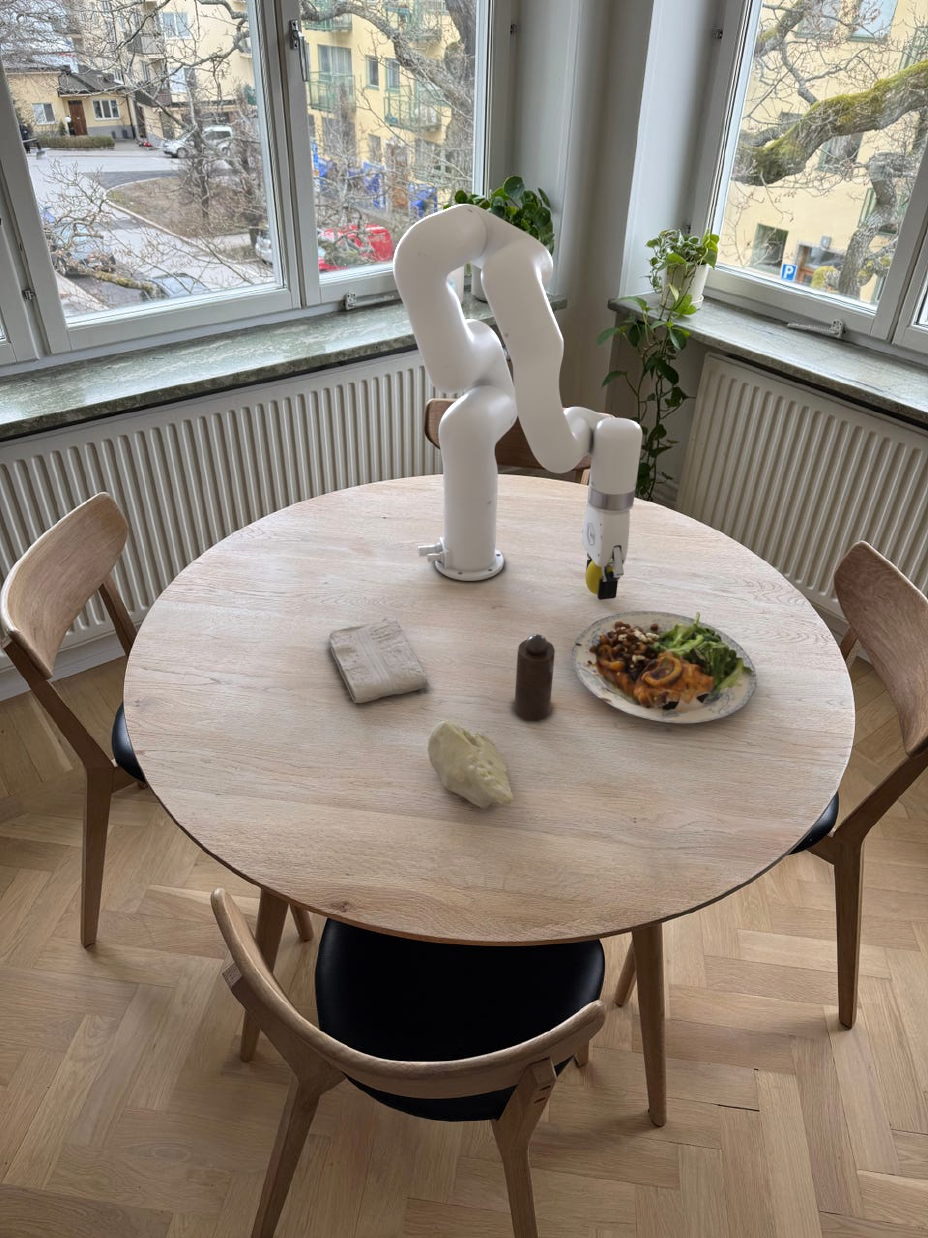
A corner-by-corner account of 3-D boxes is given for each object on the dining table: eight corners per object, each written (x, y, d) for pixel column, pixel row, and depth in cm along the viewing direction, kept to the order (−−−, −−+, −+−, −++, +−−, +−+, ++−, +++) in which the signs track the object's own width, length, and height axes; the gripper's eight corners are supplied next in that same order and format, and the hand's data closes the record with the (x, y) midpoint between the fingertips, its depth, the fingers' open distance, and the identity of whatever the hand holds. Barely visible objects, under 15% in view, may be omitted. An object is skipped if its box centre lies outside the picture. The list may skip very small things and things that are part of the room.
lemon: (614, 588, 160) (619, 549, 155) (615, 605, 155) (621, 565, 151) (583, 586, 160) (587, 547, 156) (583, 603, 156) (587, 563, 151)
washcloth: (394, 626, 149) (393, 611, 148) (431, 690, 136) (431, 674, 134) (324, 641, 146) (322, 626, 144) (355, 709, 132) (354, 693, 130)
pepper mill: (519, 723, 130) (524, 649, 122) (510, 700, 134) (514, 628, 127) (554, 718, 131) (560, 645, 123) (544, 695, 135) (549, 623, 128)
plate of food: (760, 642, 147) (768, 611, 143) (746, 753, 125) (755, 720, 122) (592, 609, 154) (595, 579, 151) (551, 708, 133) (554, 676, 129)
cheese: (433, 754, 127) (389, 756, 113) (465, 714, 126) (424, 711, 112) (512, 829, 122) (475, 841, 108) (546, 789, 121) (514, 795, 107)
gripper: (572, 474, 153) (564, 565, 163) (607, 521, 139) (596, 618, 149) (614, 470, 154) (603, 561, 165) (652, 517, 140) (638, 613, 151)
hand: (600, 587), depth 157 cm, fingers closed on lemon, 5 cm apart
